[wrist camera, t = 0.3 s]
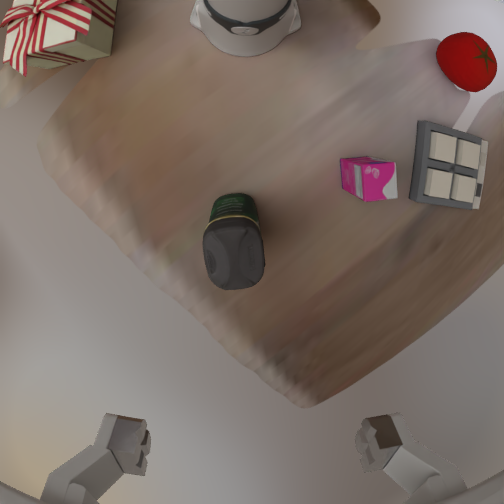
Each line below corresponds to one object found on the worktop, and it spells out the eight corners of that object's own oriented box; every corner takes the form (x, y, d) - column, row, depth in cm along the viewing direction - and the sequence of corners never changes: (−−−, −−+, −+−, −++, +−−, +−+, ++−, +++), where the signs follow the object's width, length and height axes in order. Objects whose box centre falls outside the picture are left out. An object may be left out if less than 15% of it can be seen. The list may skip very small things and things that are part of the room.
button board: (417, 120, 49) (425, 121, 47) (486, 141, 51) (495, 143, 48) (408, 198, 55) (416, 202, 52) (477, 208, 56) (485, 212, 54)
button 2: (456, 139, 49) (463, 140, 46) (473, 144, 49) (480, 145, 47) (454, 163, 50) (461, 165, 48) (470, 167, 51) (477, 169, 48)
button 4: (430, 131, 48) (437, 132, 46) (449, 137, 48) (456, 138, 46) (427, 157, 50) (434, 158, 48) (447, 161, 50) (453, 163, 48)
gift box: (47, 89, 44) (-9, 84, 28) (51, 10, 37) (3, -13, 21) (124, 67, 44) (81, 47, 28) (127, -15, 37) (92, -55, 21)
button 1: (452, 173, 51) (459, 175, 49) (469, 176, 51) (476, 179, 49) (449, 197, 53) (455, 200, 51) (465, 200, 53) (472, 202, 51)
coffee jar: (208, 196, 54) (194, 228, 37) (254, 189, 54) (261, 219, 37) (217, 247, 57) (208, 299, 40) (260, 242, 57) (270, 291, 40)
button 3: (426, 167, 51) (433, 169, 48) (445, 171, 51) (452, 173, 49) (422, 193, 53) (429, 195, 50) (442, 196, 53) (448, 198, 51)
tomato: (428, 28, 42) (464, 15, 30) (469, 50, 43) (507, 44, 31) (425, 81, 46) (464, 75, 35) (467, 100, 47) (507, 101, 36)
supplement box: (368, 154, 52) (397, 162, 41) (370, 186, 54) (398, 200, 44) (338, 157, 52) (362, 164, 41) (341, 189, 54) (365, 204, 44)
